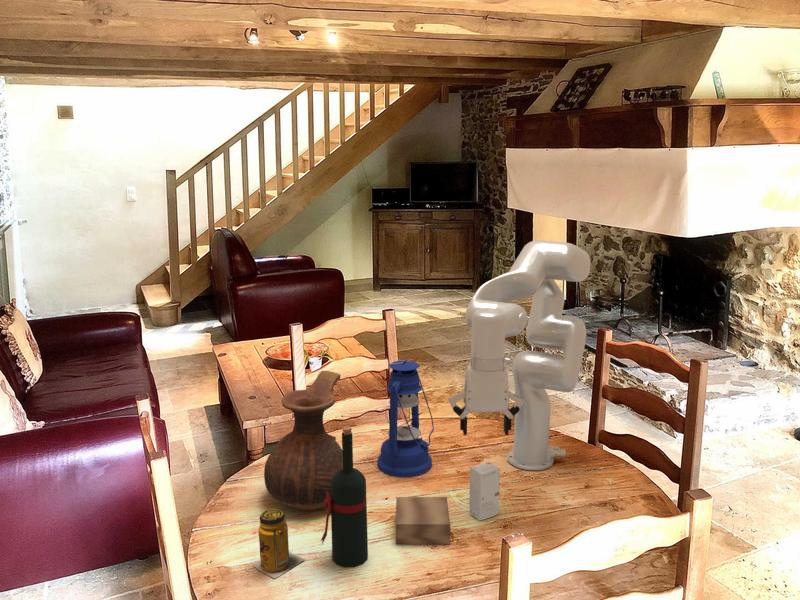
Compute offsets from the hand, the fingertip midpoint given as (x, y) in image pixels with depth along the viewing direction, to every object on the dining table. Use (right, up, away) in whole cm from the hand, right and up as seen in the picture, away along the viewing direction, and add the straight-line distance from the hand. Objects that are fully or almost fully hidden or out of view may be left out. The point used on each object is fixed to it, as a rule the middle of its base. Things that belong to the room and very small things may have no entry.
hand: (485, 432), depth 167 cm
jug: (-43, -19, +13) cm, 48 cm away
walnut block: (-15, -22, -2) cm, 27 cm away
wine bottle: (-32, -25, -12) cm, 42 cm away
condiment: (-46, -26, -14) cm, 54 cm away
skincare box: (0, -21, +5) cm, 21 cm away
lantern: (-19, -15, +31) cm, 39 cm away
